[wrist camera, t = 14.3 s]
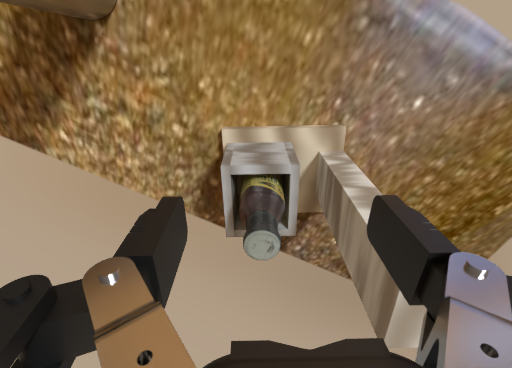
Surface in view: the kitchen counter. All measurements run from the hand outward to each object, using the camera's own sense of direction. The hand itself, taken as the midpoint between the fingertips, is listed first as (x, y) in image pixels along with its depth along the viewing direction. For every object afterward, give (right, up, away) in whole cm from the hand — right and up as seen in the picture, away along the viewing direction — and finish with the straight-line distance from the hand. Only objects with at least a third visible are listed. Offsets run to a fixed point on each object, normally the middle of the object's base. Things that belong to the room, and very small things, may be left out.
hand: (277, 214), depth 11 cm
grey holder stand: (+4, +4, +36) cm, 37 cm away
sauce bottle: (0, +3, +35) cm, 35 cm away
